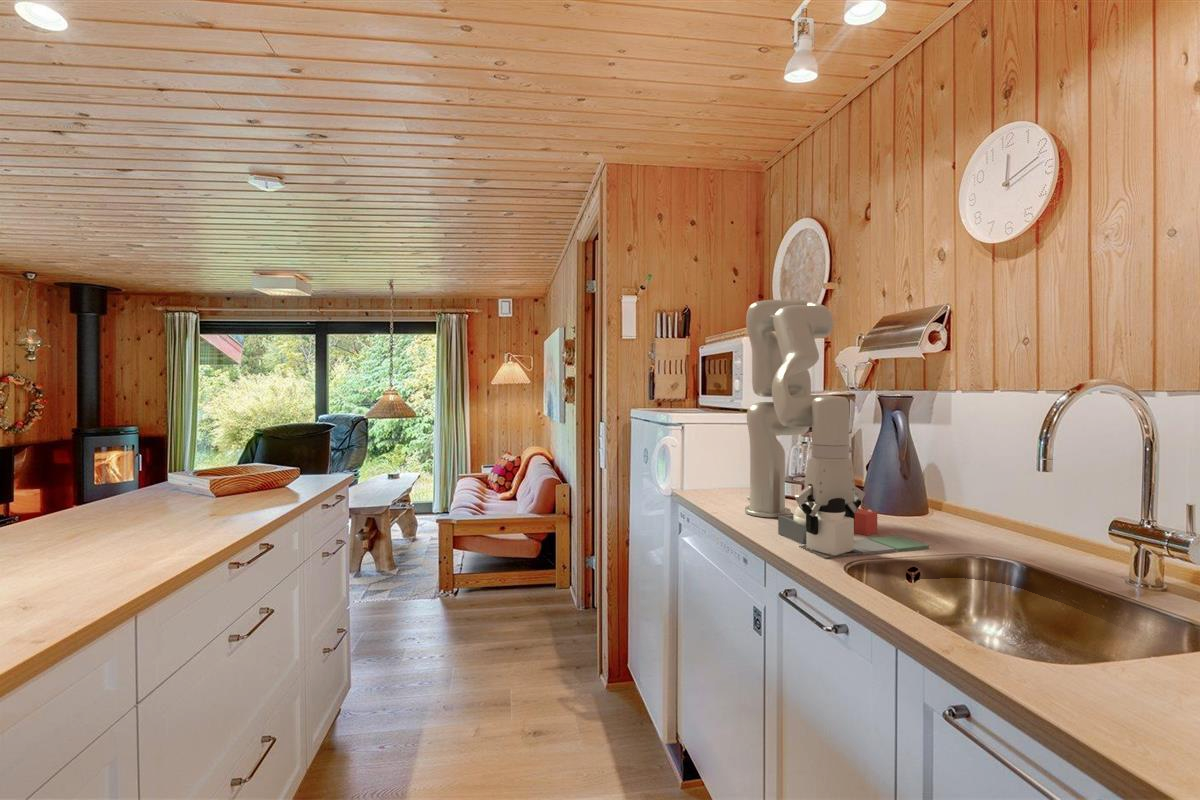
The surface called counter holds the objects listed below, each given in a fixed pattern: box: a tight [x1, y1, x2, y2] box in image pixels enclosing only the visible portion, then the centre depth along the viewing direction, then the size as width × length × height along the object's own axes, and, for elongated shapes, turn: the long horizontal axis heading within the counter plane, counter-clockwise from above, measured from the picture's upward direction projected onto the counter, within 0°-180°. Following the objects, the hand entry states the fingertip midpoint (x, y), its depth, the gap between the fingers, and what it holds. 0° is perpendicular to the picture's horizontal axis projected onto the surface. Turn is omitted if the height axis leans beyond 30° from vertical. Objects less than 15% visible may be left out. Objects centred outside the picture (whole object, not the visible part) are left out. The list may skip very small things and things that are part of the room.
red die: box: [854, 507, 878, 536], centre depth 142 cm, size 5×5×6 cm
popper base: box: [777, 514, 807, 545], centre depth 137 cm, size 10×10×4 cm
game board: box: [798, 534, 930, 560], centre depth 128 cm, size 9×27×1 cm, turn 105°
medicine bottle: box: [806, 498, 855, 556], centre depth 125 cm, size 7×7×12 cm
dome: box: [793, 502, 817, 524], centre depth 137 cm, size 7×7×6 cm
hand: (830, 531), depth 125 cm, fingers closed on medicine bottle, 8 cm apart
